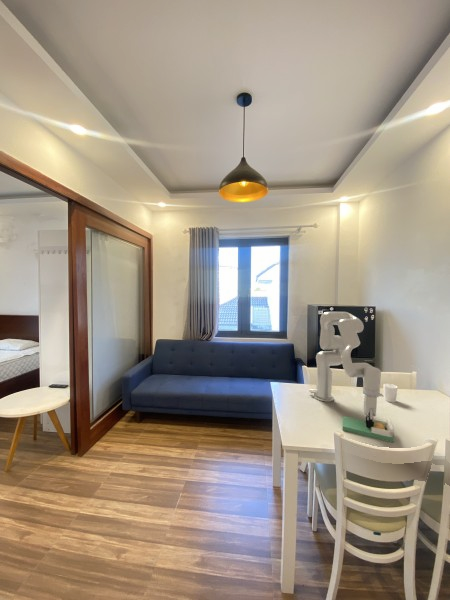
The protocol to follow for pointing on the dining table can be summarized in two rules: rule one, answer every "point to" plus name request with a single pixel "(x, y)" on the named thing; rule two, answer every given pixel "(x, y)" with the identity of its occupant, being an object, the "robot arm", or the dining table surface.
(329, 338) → the robot arm
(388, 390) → the white cup
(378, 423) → the ball
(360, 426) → the green
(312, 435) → the dining table surface
